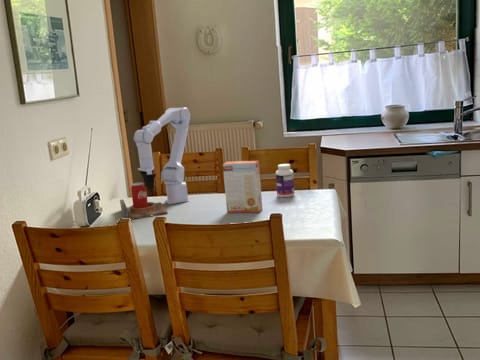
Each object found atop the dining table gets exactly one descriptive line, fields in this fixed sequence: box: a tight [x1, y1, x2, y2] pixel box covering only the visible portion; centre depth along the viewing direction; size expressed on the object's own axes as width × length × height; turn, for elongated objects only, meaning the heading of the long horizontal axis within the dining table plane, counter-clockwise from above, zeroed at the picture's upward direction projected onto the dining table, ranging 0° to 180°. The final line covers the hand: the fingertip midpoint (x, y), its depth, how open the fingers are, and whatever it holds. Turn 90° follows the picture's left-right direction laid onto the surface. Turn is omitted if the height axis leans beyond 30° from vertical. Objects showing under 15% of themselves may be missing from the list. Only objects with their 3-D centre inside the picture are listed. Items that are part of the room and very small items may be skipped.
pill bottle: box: [275, 163, 295, 198], centre depth 228 cm, size 8×8×14 cm
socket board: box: [119, 198, 169, 220], centre depth 222 cm, size 18×18×5 cm
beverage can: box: [130, 181, 149, 208], centre depth 221 cm, size 6×6×12 cm
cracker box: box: [222, 160, 263, 214], centre depth 209 cm, size 14×6×21 cm, turn 71°
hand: (149, 187), depth 221 cm, fingers open, 7 cm apart
